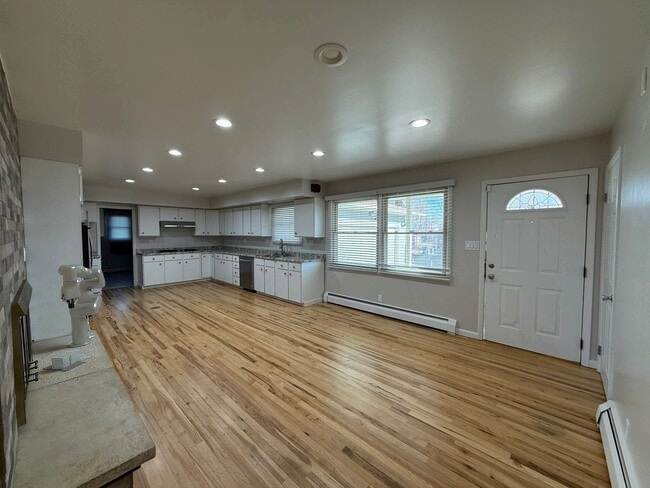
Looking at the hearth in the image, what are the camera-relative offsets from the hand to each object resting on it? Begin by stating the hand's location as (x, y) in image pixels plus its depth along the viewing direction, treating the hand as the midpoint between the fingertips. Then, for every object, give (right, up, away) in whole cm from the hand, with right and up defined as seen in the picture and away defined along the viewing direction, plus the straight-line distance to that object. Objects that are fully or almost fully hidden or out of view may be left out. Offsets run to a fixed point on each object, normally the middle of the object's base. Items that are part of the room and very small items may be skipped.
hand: (71, 308), depth 201 cm
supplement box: (+16, -28, -14) cm, 35 cm away
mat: (+15, -33, -21) cm, 42 cm away
